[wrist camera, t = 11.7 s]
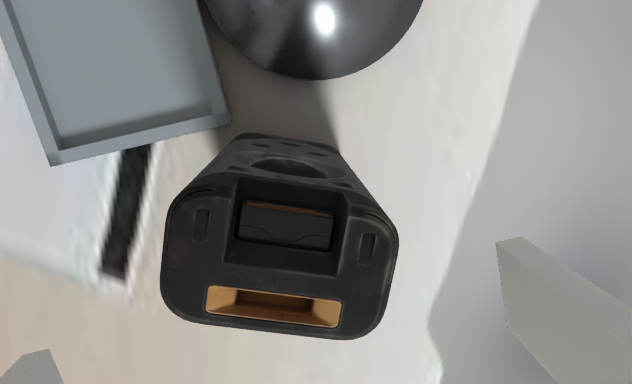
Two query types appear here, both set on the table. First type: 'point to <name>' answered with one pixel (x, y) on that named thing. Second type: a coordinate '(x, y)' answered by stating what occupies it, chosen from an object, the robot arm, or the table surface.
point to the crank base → (314, 33)
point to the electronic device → (279, 243)
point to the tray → (112, 72)
